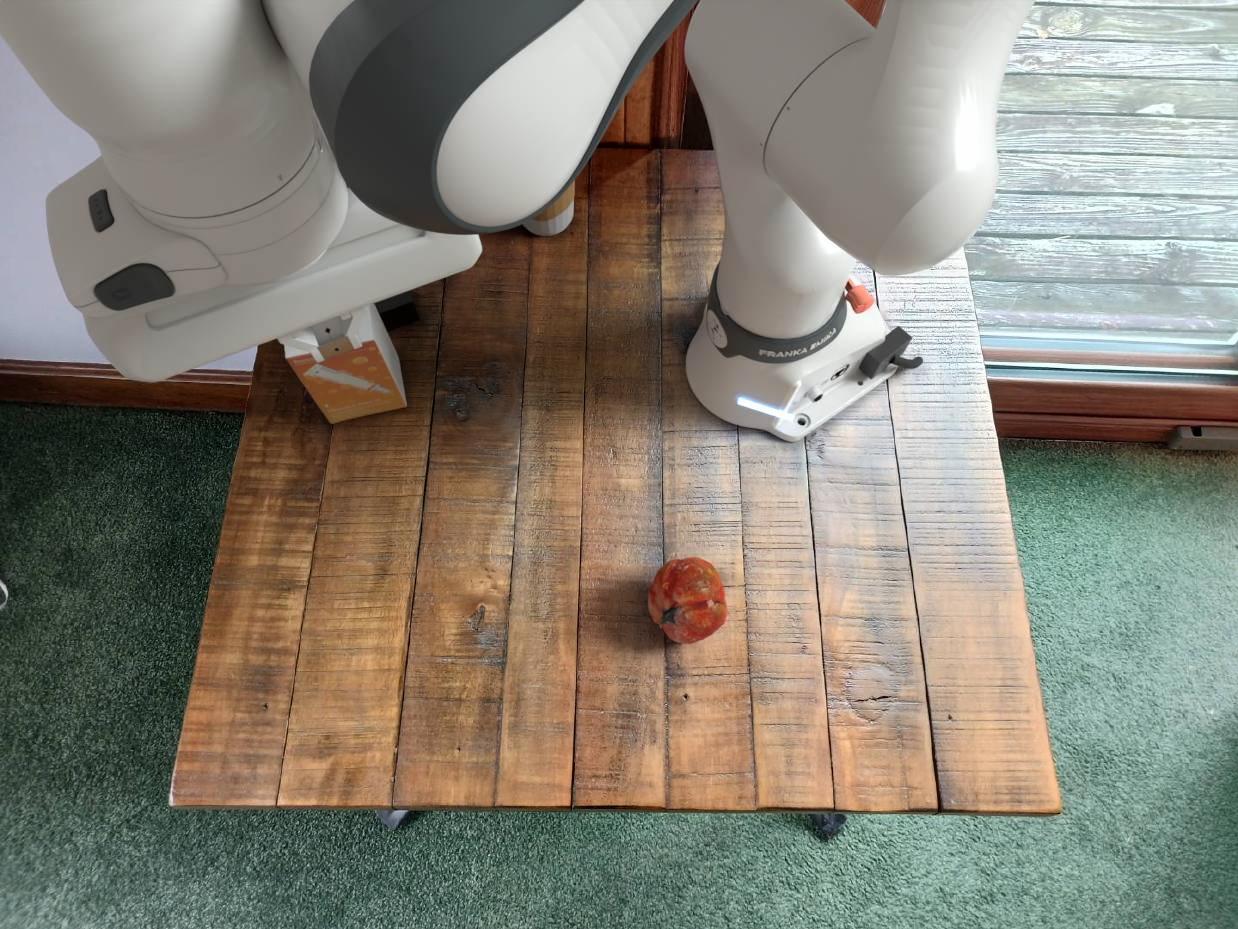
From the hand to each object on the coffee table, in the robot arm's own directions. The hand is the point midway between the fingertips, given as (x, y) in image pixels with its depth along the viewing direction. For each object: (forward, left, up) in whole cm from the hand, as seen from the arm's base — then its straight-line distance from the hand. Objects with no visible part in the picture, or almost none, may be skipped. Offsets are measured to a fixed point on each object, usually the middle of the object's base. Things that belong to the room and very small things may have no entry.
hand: (337, 346), depth 50 cm
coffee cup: (-24, -30, -31) cm, 50 cm away
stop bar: (0, -24, -31) cm, 39 cm away
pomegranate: (-18, +18, -31) cm, 40 cm away
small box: (+2, -16, -31) cm, 35 cm away
